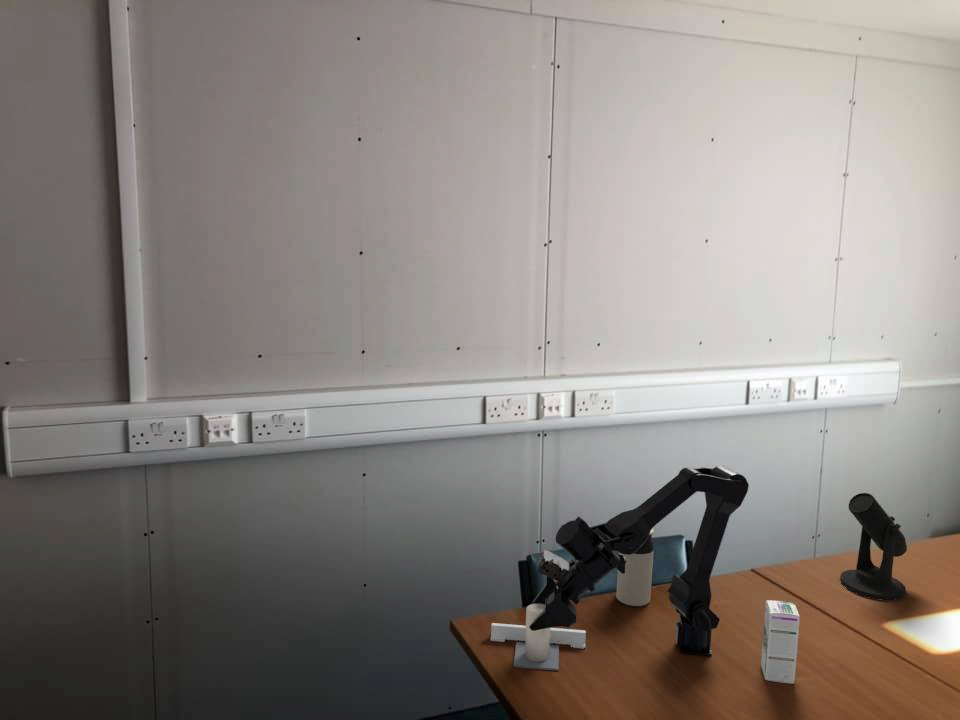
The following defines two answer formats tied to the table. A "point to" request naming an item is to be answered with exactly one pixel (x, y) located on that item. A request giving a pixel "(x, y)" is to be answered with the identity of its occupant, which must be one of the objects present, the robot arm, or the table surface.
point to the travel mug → (637, 575)
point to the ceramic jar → (536, 636)
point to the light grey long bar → (556, 634)
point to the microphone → (885, 536)
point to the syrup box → (780, 641)
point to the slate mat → (524, 662)
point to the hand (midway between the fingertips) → (531, 617)
